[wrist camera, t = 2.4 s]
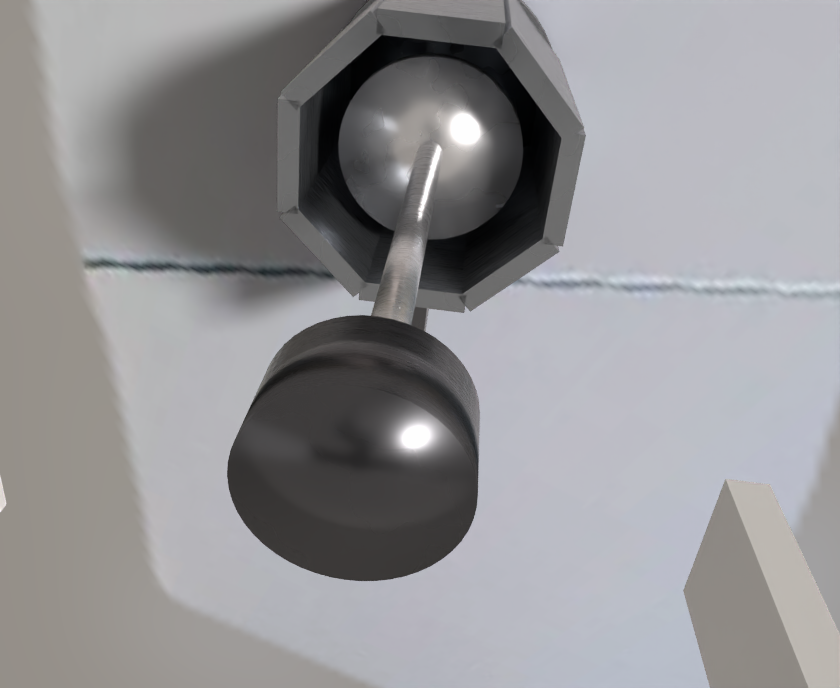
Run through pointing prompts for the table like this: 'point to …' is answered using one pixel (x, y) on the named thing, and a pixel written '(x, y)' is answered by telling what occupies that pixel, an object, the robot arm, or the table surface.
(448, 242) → the octagonal container
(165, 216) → the table surface
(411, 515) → the plunger
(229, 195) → the table surface
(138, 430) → the table surface
